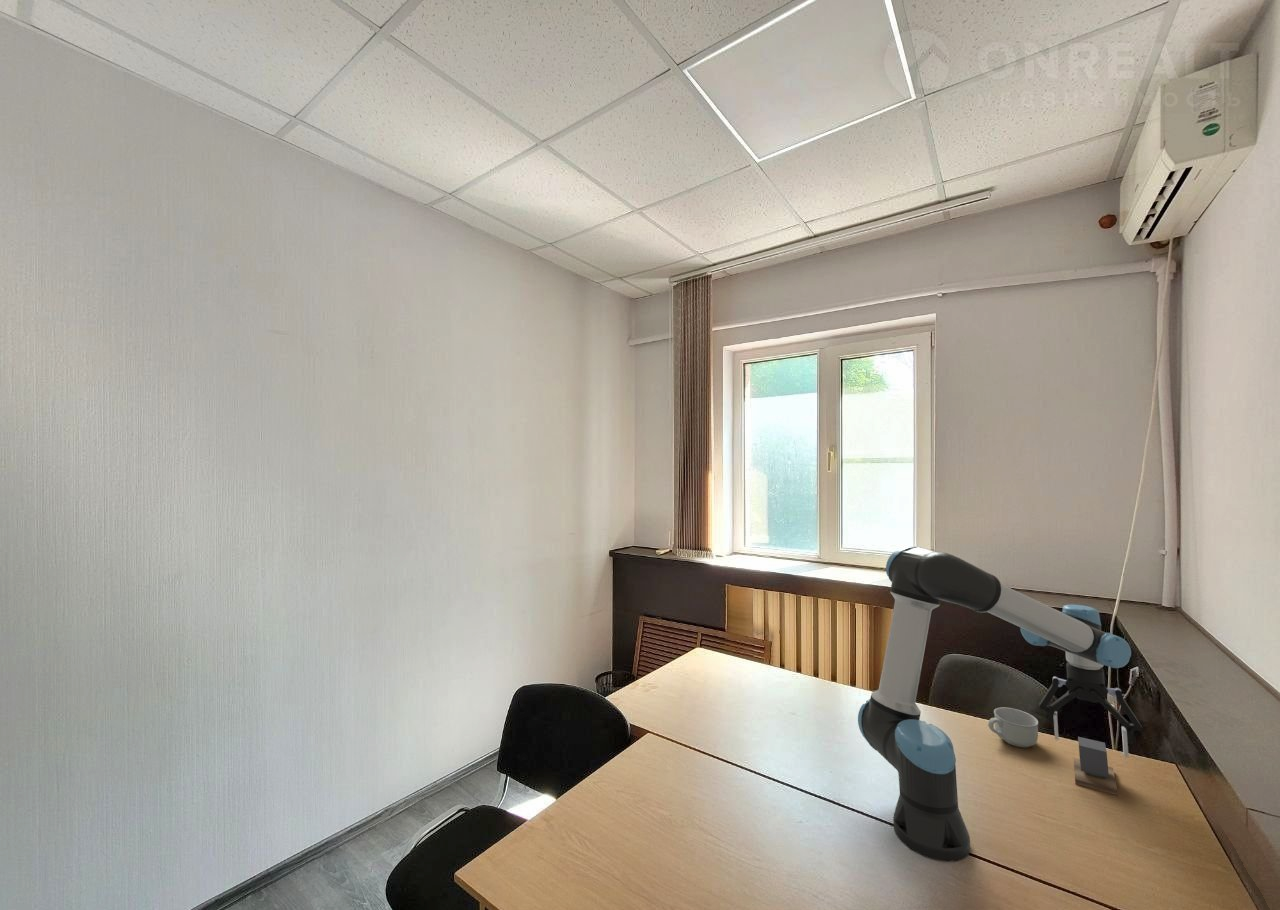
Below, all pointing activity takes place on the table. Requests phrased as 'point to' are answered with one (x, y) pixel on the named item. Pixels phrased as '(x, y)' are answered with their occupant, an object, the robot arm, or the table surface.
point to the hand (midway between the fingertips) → (1090, 746)
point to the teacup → (1015, 726)
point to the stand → (1095, 779)
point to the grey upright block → (1093, 757)
